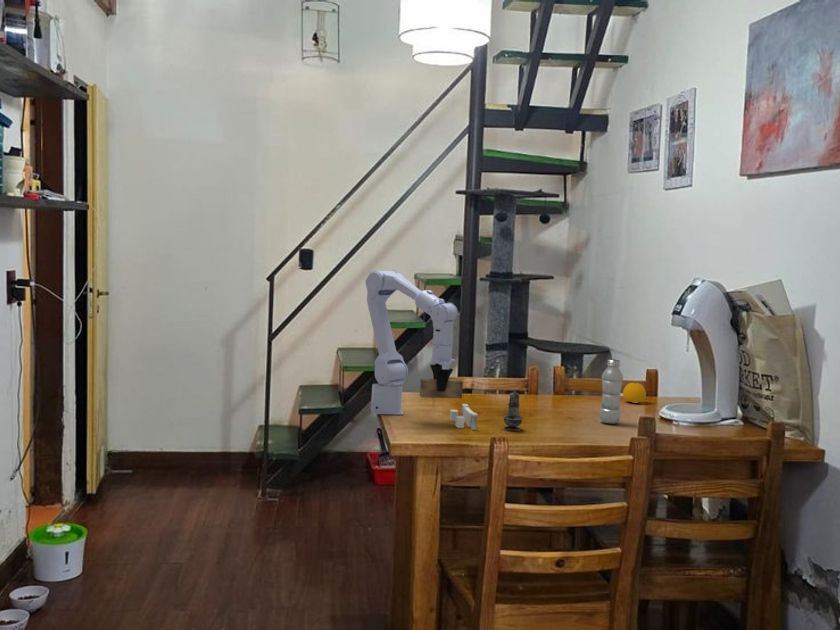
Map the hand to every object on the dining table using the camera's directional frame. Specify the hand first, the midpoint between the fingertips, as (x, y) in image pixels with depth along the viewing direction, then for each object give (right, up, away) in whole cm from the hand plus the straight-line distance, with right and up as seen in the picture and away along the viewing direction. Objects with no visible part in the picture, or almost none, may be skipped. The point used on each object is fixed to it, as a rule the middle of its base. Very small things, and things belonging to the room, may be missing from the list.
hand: (440, 390), depth 239 cm
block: (0, -2, 0) cm, 2 cm away
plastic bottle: (+53, -12, +14) cm, 56 cm away
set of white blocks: (+7, -10, +2) cm, 12 cm away
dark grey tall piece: (+21, -12, -2) cm, 24 cm away
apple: (+71, -10, +52) cm, 88 cm away
